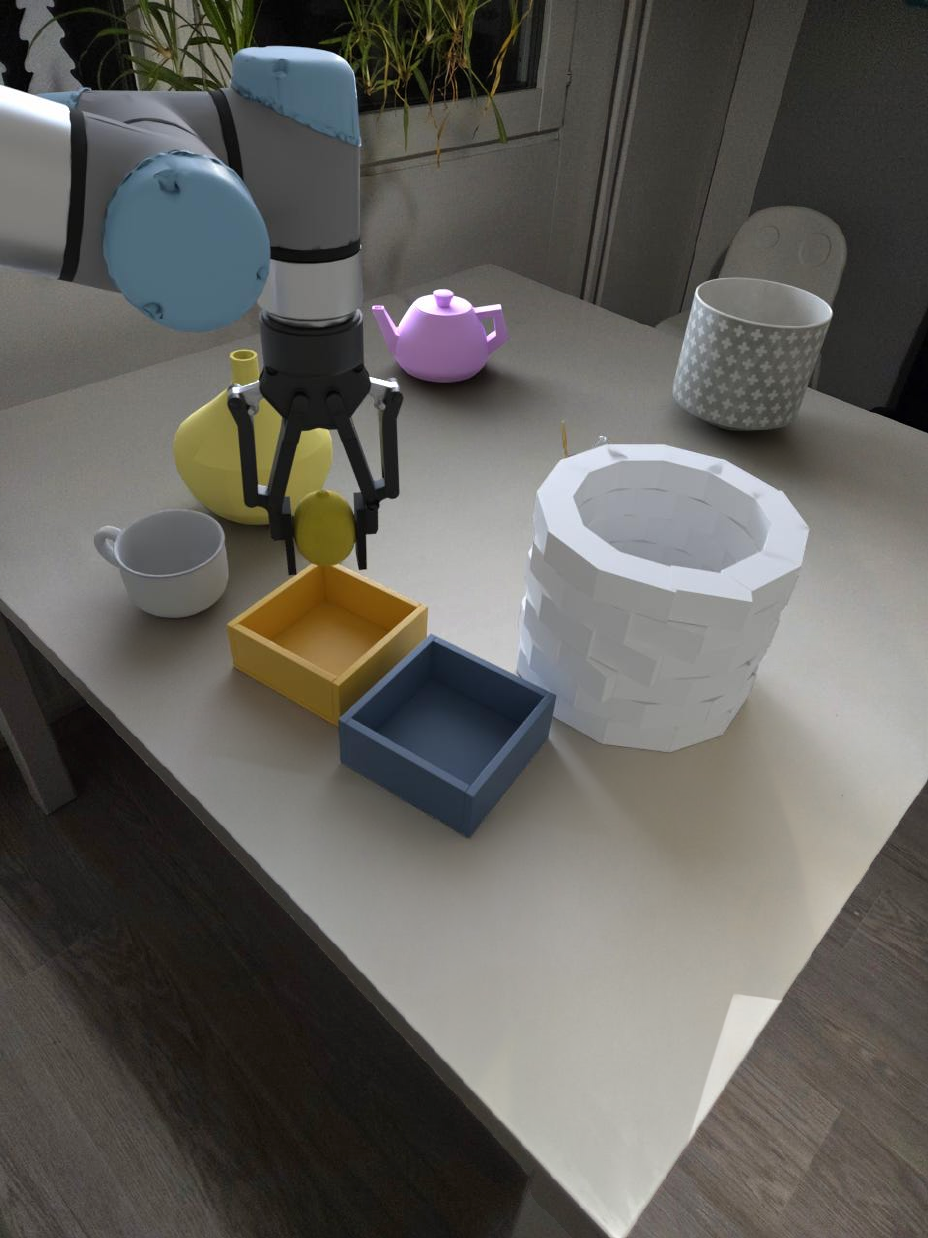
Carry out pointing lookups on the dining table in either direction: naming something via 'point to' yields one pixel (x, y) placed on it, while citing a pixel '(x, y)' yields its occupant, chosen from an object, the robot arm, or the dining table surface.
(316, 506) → the lemon
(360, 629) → the yellow bin
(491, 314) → the teapot
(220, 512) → the vase
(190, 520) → the teacup
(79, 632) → the dining table surface
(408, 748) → the blue bin
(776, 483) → the dining table surface
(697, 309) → the planter
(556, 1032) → the dining table surface
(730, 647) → the white brick well
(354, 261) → the robot arm
